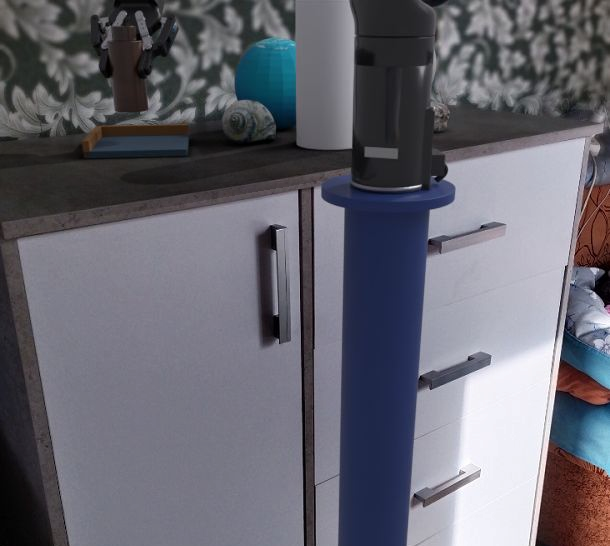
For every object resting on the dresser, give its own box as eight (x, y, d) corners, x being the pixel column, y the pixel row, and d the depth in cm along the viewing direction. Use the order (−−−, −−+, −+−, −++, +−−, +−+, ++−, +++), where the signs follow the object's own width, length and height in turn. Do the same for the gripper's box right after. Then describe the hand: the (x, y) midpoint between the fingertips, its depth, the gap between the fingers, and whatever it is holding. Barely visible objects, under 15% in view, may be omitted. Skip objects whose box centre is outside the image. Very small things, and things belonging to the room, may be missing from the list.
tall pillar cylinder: (376, 143, 123) (383, -33, 111) (330, 152, 116) (332, -35, 105) (328, 136, 129) (330, -31, 118) (282, 144, 123) (279, -33, 112)
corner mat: (189, 139, 127) (188, 123, 126) (186, 156, 114) (185, 138, 113) (97, 141, 126) (95, 125, 125) (84, 158, 112) (81, 140, 111)
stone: (362, 129, 133) (404, 139, 127) (367, 94, 131) (410, 103, 124) (413, 130, 142) (455, 139, 135) (419, 97, 139) (461, 105, 132)
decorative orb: (232, 124, 143) (229, 36, 136) (312, 121, 145) (312, 35, 138) (240, 136, 129) (236, 40, 123) (327, 134, 132) (327, 39, 125)
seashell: (283, 148, 128) (228, 157, 120) (256, 125, 131) (200, 131, 123) (295, 113, 124) (238, 120, 116) (266, 90, 127) (209, 95, 119)
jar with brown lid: (149, 107, 122) (142, 25, 117) (147, 112, 118) (139, 26, 112) (116, 108, 122) (107, 25, 116) (112, 112, 117) (103, 26, 112)
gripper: (90, -33, 118) (68, 57, 113) (180, -34, 116) (162, 57, 111) (108, 5, 125) (88, 91, 120) (192, 5, 123) (176, 92, 118)
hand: (123, 74), depth 116 cm, fingers closed on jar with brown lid, 5 cm apart
